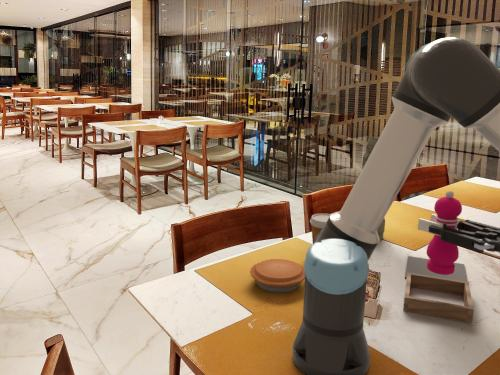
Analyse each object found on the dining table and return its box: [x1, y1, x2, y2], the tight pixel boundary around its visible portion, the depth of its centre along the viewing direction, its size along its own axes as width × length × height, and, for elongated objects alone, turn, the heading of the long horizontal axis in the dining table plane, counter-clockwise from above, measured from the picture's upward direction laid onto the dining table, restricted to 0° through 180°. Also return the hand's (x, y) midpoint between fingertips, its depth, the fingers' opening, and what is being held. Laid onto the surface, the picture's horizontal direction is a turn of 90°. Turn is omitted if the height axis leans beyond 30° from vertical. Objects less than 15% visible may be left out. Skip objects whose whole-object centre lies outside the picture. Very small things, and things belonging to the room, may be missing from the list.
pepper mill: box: [426, 190, 463, 275], centre depth 107 cm, size 7×7×20 cm
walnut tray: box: [402, 272, 475, 324], centre depth 112 cm, size 15×15×4 cm
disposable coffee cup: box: [309, 213, 332, 245], centre depth 140 cm, size 10×10×12 cm
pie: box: [249, 258, 305, 294], centre depth 121 cm, size 15×16×5 cm
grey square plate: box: [404, 255, 468, 282], centre depth 129 cm, size 16×16×1 cm
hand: (425, 221), depth 111 cm, fingers closed on pepper mill, 5 cm apart
